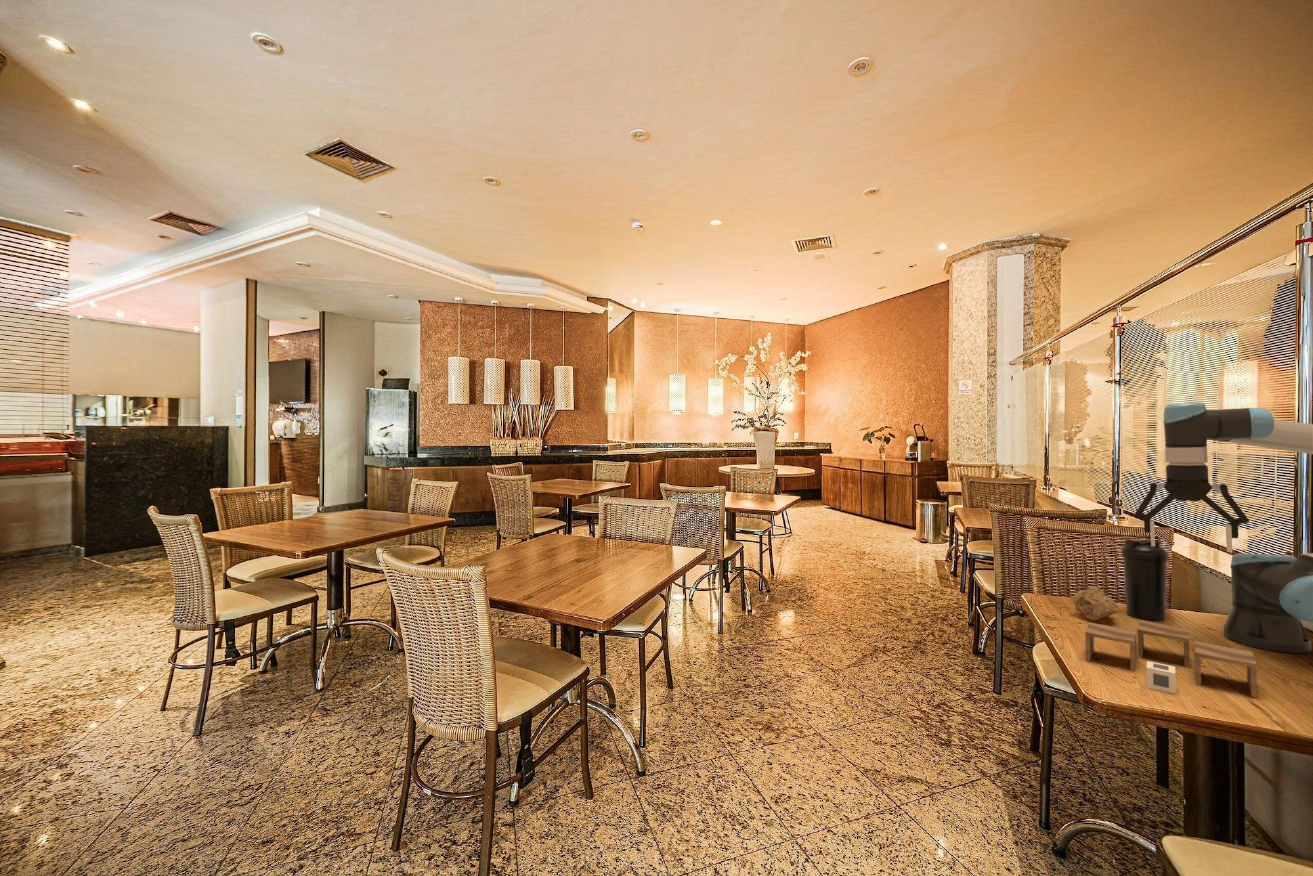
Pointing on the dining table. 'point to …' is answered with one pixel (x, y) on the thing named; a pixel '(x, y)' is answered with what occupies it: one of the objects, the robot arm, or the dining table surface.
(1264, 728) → the dining table surface
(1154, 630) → the cover
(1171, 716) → the dining table surface
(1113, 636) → the cover
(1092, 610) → the rock
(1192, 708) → the dining table surface
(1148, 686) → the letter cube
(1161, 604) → the water bottle
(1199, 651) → the cover
